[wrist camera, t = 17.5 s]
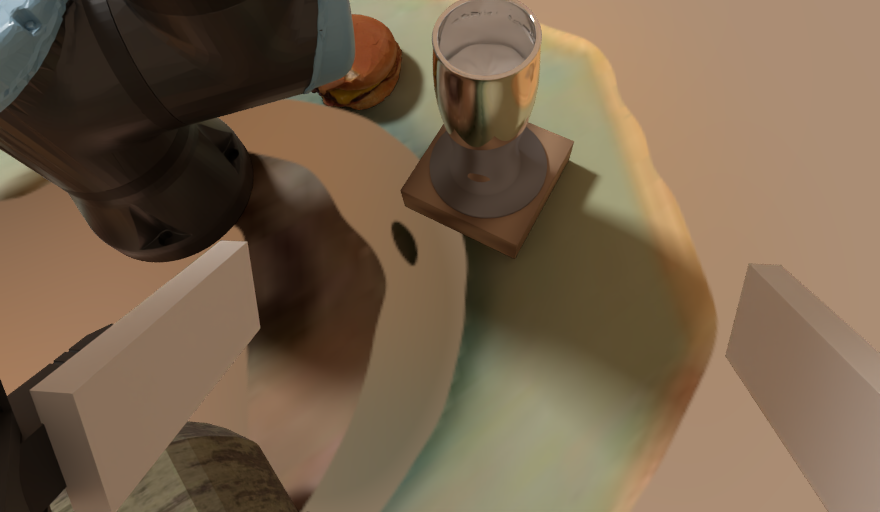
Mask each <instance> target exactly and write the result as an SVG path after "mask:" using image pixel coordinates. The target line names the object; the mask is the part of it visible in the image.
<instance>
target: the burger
mask: <svg viewBox="0 0 880 512" xmlns="http://www.w3.org/2000/svg"><path fill="white" fill-rule="evenodd" d="M351 15H352V21H353V28H354V37H355V59H354V63H353V65H352V68H351V70H350V71H349V72H348V73H347V74H346V75H345V76H344V77H342V78H341V79H338V80H336V81H333V82H330V83H328V84H325V85H322V86H319V87H317V88H314V89H313V90H312V91H311V92H312V93H316V92H317V93H319V95H320V96H321V97H322V98H323V102H324V104H326V105H328V106H336V107H343V106H347V107H351V108H353V109H357V110H362V109H367V108H370V107H373V106H375V105H377V104H379V103H380V102H382V101H384V98H385V97H387V96H389V95H390V93H391V92H392V91H393V89H394V87H395V85H396V83H397V81H398V78H399V73H400V70H401V60H402V57H401V55H402V52H401V51H402V50H401V49H400V47H399V45H398V43H397V42H396V41H395V39H394V37H393V35H392V33H391V31H390V30H389V28H388V27H386V26H385V25H384V24H383V23H382V22H380V21H378V20H376V19H374V18H371V17H368V16H364V15H355V14H351Z"/></svg>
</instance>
